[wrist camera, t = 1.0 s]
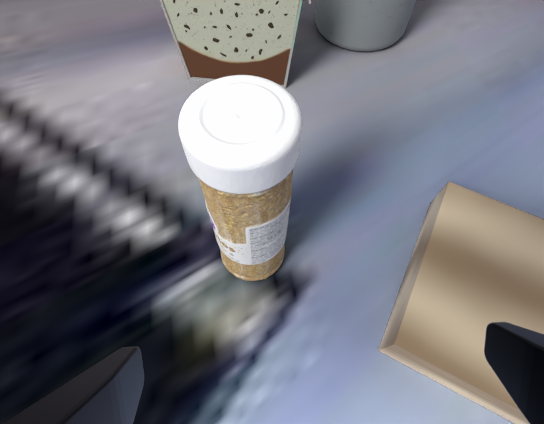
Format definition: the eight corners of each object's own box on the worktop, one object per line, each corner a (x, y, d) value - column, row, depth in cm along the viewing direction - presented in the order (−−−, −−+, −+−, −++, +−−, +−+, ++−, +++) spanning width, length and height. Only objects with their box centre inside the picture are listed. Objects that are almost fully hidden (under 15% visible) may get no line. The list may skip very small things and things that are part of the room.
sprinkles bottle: (210, 241, 24) (155, 95, 12) (265, 213, 25) (263, 55, 13) (240, 296, 22) (210, 186, 10) (298, 262, 23) (329, 130, 12)
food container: (305, 48, 34) (318, -70, 26) (301, 89, 32) (314, -28, 23) (188, 38, 35) (161, -81, 26) (173, 78, 32) (138, -41, 23)
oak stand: (588, 463, 18) (642, 475, 15) (378, 350, 21) (394, 344, 18) (600, 274, 23) (643, 259, 21) (430, 202, 26) (448, 181, 23)
